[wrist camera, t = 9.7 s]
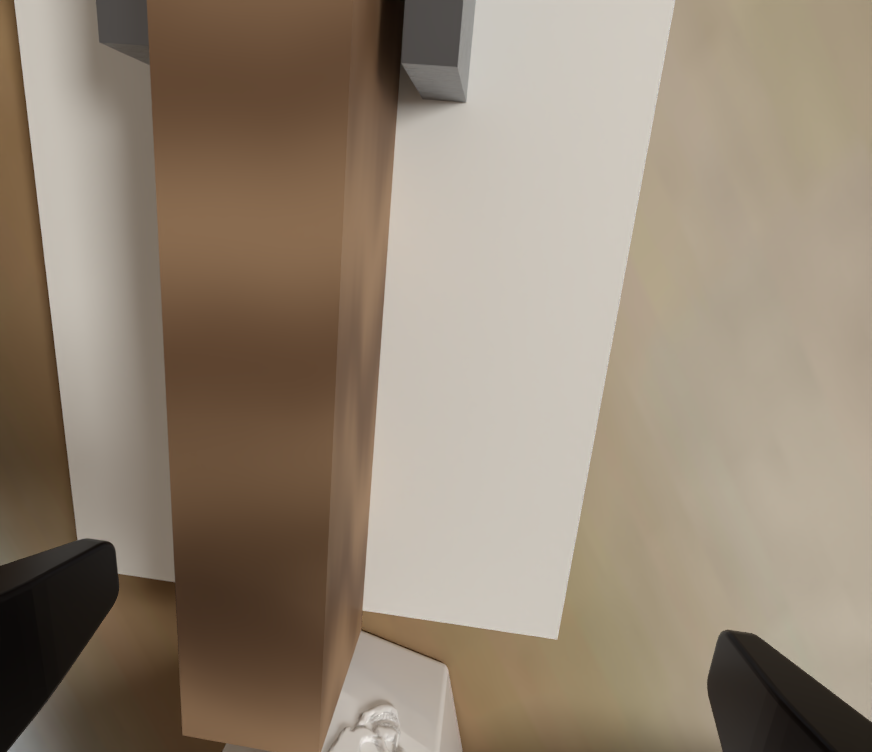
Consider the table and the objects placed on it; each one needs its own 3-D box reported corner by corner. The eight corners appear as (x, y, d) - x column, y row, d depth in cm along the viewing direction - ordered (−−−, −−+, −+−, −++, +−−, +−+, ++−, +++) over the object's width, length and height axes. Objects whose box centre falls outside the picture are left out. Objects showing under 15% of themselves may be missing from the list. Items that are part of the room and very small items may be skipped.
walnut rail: (360, 630, 20) (318, 759, 15) (256, 613, 20) (182, 735, 15) (410, -81, 14) (364, -245, 9) (258, -90, 14) (134, -253, 9)
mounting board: (553, 616, 20) (557, 639, 19) (102, 549, 22) (80, 567, 20) (688, -132, 14) (705, -165, 13) (30, -158, 15) (-8, -189, 14)
